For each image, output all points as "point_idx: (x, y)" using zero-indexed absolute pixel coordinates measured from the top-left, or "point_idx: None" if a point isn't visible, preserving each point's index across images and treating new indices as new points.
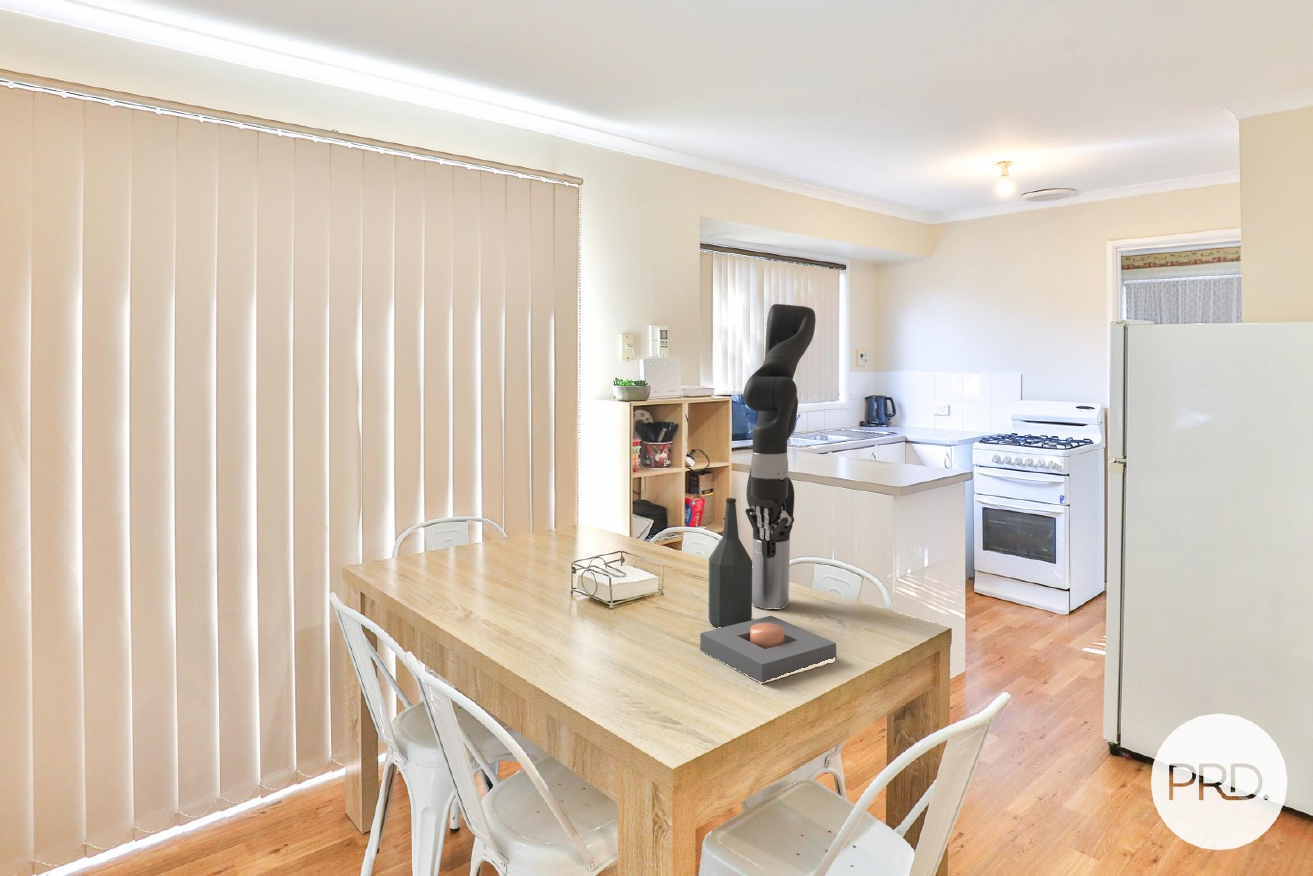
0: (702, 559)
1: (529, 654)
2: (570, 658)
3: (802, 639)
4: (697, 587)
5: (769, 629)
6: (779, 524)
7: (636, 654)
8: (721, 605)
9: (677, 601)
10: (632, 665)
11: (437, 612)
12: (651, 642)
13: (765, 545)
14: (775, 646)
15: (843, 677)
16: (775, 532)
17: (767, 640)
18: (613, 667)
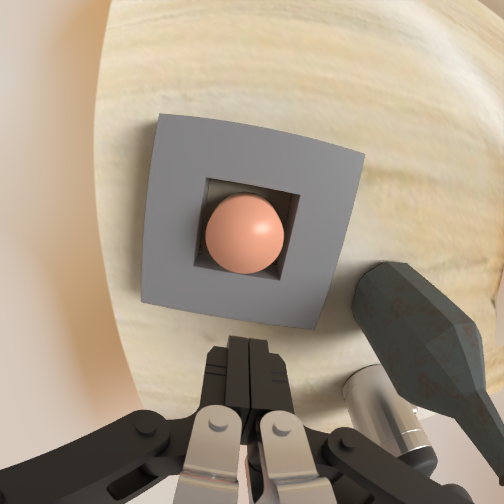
0: None
1: (473, 19)
2: (444, 24)
3: (189, 275)
4: None
5: (237, 237)
6: (41, 489)
7: (409, 76)
8: (402, 280)
9: (473, 298)
10: (380, 38)
11: None
12: (428, 132)
13: (243, 381)
14: (200, 206)
15: (107, 244)
16: (110, 449)
17: (220, 205)
18: (391, 21)
